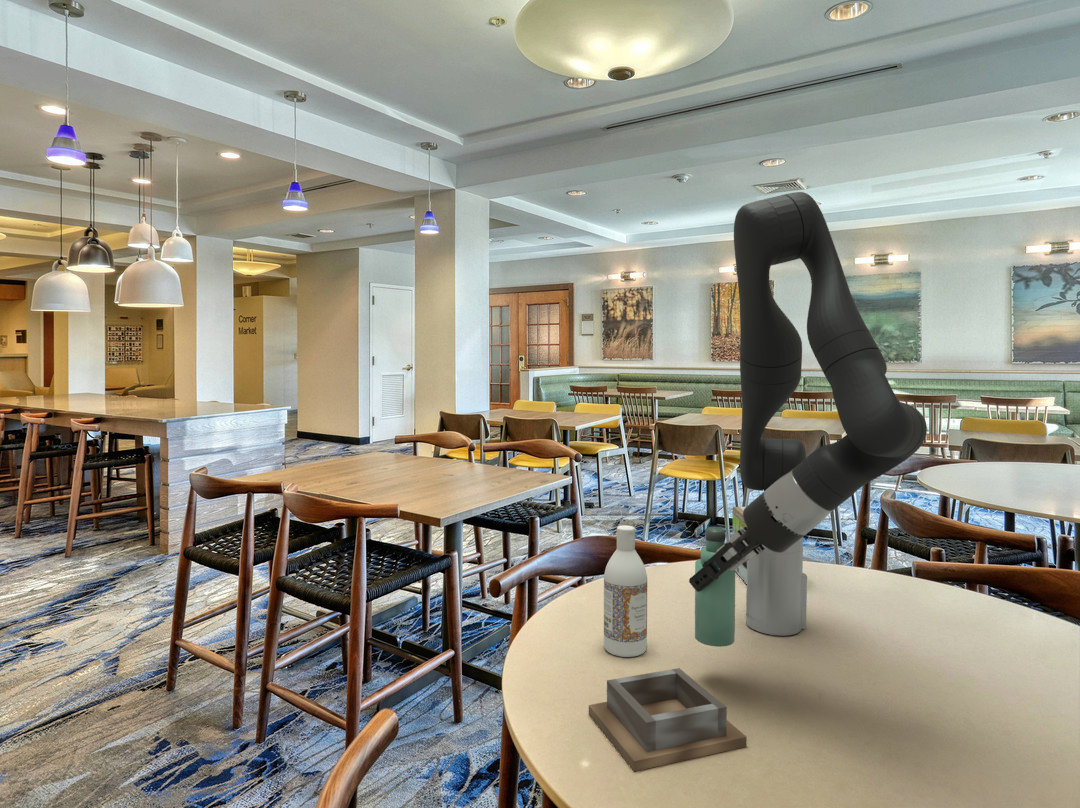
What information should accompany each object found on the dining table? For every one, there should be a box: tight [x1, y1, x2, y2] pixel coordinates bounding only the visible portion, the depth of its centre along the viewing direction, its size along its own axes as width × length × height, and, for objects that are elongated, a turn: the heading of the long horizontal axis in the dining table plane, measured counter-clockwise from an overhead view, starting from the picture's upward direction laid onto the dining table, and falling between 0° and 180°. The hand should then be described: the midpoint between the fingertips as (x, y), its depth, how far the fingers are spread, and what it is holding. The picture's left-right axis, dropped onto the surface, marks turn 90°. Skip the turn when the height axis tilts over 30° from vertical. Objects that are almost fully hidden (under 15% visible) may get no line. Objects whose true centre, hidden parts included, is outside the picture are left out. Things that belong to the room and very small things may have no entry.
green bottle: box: [694, 526, 736, 648], centre depth 93 cm, size 6×6×16 cm
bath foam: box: [603, 524, 648, 658], centre depth 105 cm, size 7×7×20 cm
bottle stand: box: [588, 667, 748, 772], centre depth 81 cm, size 15×13×5 cm
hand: (703, 579), depth 95 cm, fingers closed on green bottle, 5 cm apart
